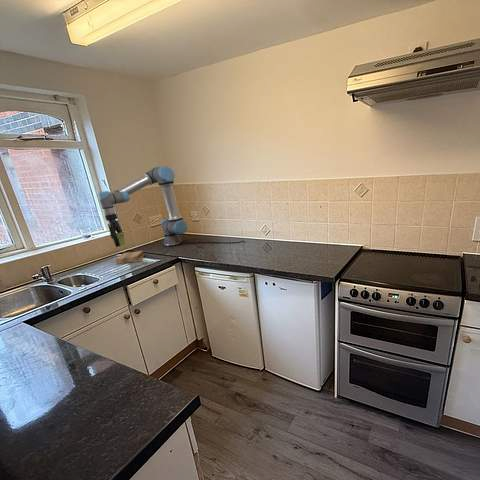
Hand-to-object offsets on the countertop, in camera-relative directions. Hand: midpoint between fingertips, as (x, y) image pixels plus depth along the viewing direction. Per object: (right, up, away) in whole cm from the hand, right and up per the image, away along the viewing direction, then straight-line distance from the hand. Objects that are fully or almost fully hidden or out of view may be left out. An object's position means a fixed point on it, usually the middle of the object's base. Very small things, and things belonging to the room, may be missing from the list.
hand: (120, 244), depth 219 cm
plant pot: (0, 0, 0) cm, 0 cm away
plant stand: (+2, -10, +14) cm, 17 cm away
